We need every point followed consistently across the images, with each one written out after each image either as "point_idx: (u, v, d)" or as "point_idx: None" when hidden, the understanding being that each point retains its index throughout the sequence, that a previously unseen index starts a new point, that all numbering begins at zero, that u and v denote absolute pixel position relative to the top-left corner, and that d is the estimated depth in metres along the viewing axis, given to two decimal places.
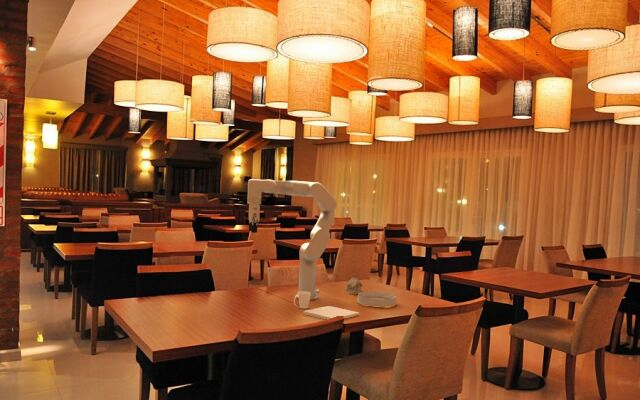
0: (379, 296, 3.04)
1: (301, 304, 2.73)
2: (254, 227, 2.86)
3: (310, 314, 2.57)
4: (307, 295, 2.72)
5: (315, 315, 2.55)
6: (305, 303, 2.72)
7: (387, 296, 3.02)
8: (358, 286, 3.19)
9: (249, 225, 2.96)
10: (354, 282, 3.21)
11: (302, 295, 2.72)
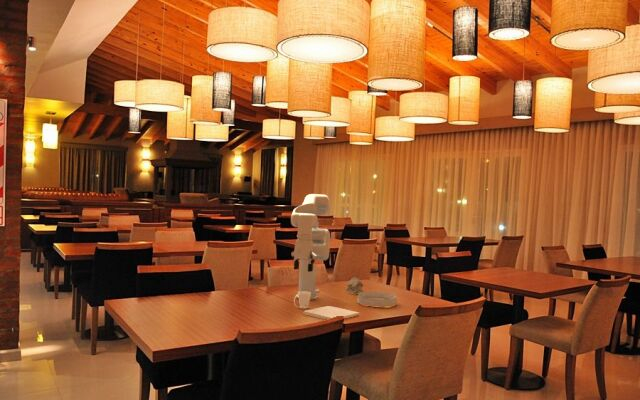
0: (379, 296, 3.04)
1: (301, 304, 2.73)
2: None
3: (310, 314, 2.57)
4: (307, 295, 2.72)
5: (315, 315, 2.55)
6: (305, 303, 2.72)
7: (387, 296, 3.02)
8: (359, 286, 3.19)
9: None
10: (355, 282, 3.21)
11: (302, 295, 2.72)
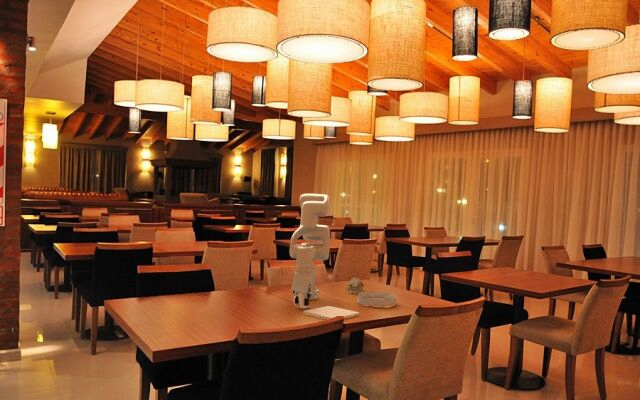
0: (379, 296, 3.04)
1: (301, 304, 2.73)
2: None
3: (310, 314, 2.57)
4: None
5: (315, 315, 2.55)
6: None
7: (387, 296, 3.02)
8: (360, 286, 3.19)
9: None
10: (355, 282, 3.21)
11: (301, 295, 2.72)
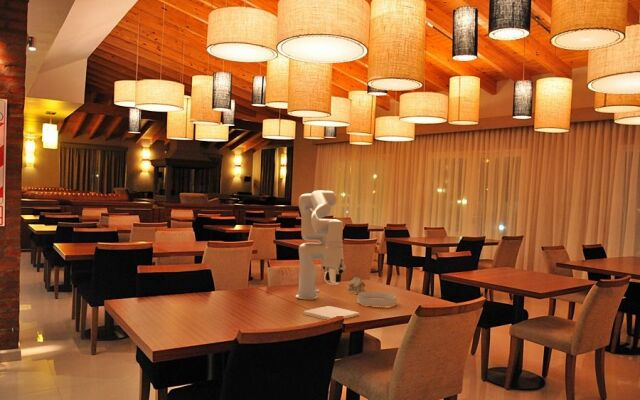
0: (379, 296, 3.04)
1: (332, 280, 2.60)
2: None
3: (310, 314, 2.57)
4: None
5: (315, 315, 2.55)
6: None
7: (387, 296, 3.02)
8: (361, 286, 3.20)
9: None
10: (357, 282, 3.22)
11: (333, 271, 2.59)
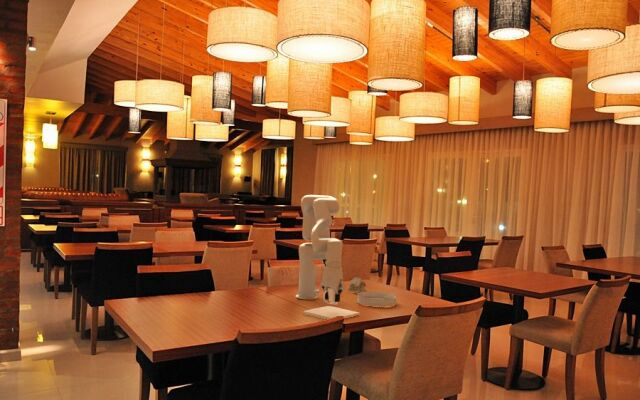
0: (379, 296, 3.04)
1: (331, 300, 2.60)
2: None
3: (310, 314, 2.57)
4: None
5: (315, 315, 2.55)
6: None
7: (387, 296, 3.02)
8: (362, 286, 3.21)
9: None
10: (357, 282, 3.22)
11: (332, 290, 2.59)
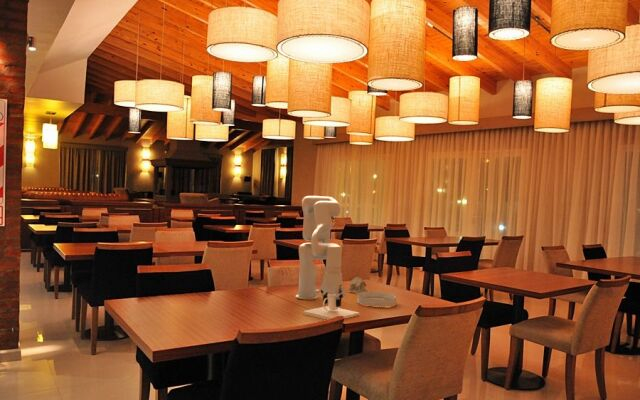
0: (379, 296, 3.04)
1: (330, 307, 2.61)
2: None
3: (310, 314, 2.57)
4: None
5: (315, 315, 2.55)
6: (335, 306, 2.60)
7: (387, 296, 3.02)
8: (362, 286, 3.21)
9: None
10: (358, 282, 3.23)
11: (332, 298, 2.59)
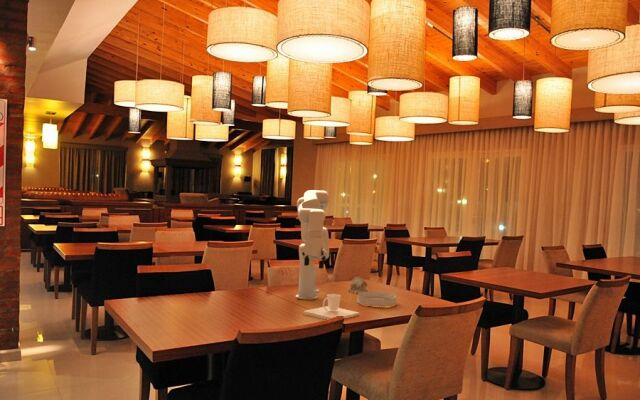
0: (379, 296, 3.04)
1: (330, 307, 2.61)
2: None
3: (310, 314, 2.57)
4: (337, 298, 2.60)
5: (315, 315, 2.55)
6: (335, 306, 2.60)
7: (387, 296, 3.02)
8: (363, 285, 3.22)
9: None
10: (359, 281, 3.23)
11: (332, 298, 2.59)
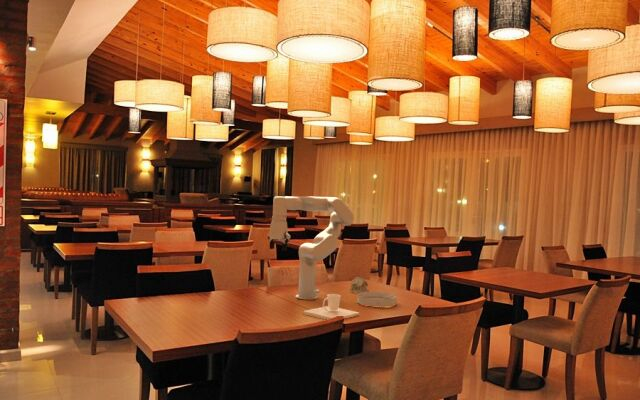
0: (379, 296, 3.04)
1: (330, 307, 2.61)
2: None
3: (310, 314, 2.57)
4: (337, 298, 2.60)
5: (315, 315, 2.55)
6: (335, 306, 2.60)
7: (387, 296, 3.02)
8: (364, 285, 3.22)
9: None
10: (360, 281, 3.24)
11: (332, 298, 2.59)
